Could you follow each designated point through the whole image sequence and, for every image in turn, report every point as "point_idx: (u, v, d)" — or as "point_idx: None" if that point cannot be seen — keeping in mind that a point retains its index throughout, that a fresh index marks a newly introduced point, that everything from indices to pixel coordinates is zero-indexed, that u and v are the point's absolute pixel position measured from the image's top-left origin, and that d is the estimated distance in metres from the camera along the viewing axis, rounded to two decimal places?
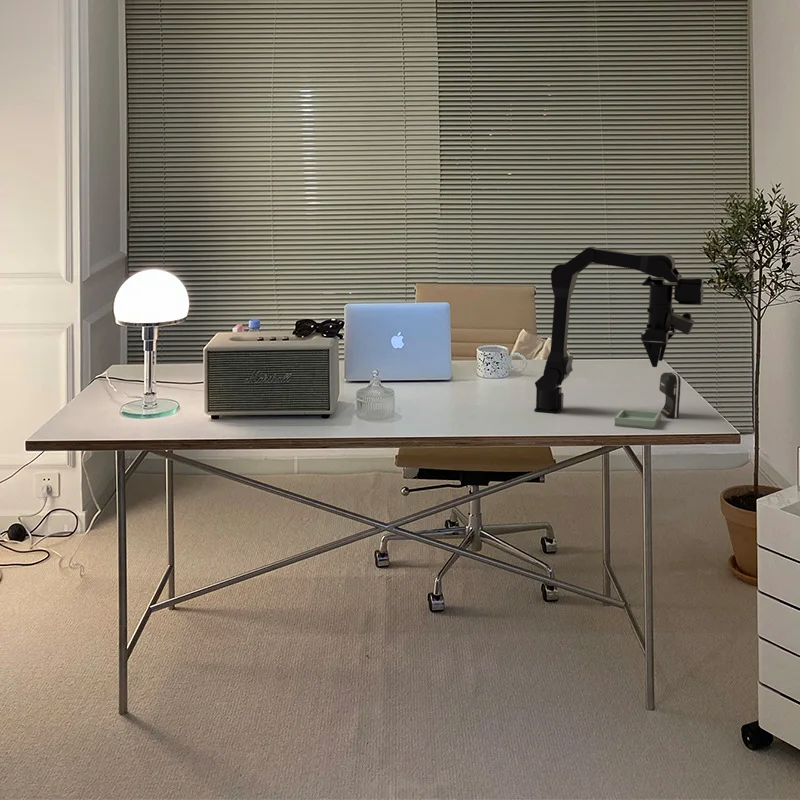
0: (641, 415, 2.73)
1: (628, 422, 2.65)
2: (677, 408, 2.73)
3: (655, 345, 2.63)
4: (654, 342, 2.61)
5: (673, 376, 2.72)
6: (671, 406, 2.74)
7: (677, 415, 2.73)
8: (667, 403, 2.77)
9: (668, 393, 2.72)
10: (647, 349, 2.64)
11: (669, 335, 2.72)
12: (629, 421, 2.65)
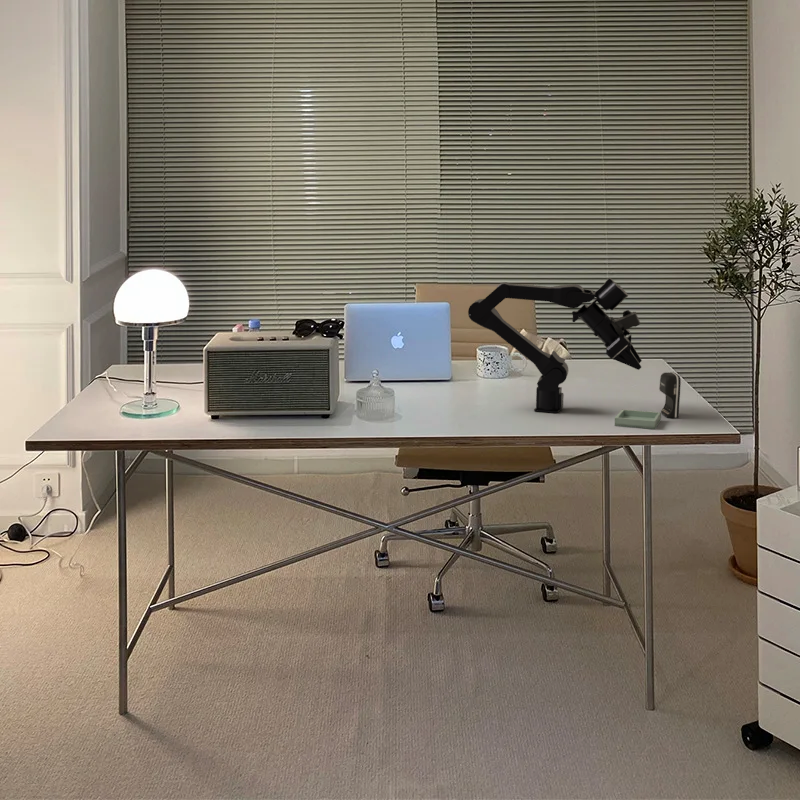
0: (641, 415, 2.73)
1: (628, 422, 2.65)
2: (677, 408, 2.73)
3: (625, 353, 2.70)
4: (621, 351, 2.68)
5: (673, 376, 2.72)
6: (671, 406, 2.74)
7: (677, 415, 2.73)
8: (667, 403, 2.77)
9: (668, 393, 2.72)
10: (622, 361, 2.70)
11: (628, 338, 2.80)
12: (629, 421, 2.65)
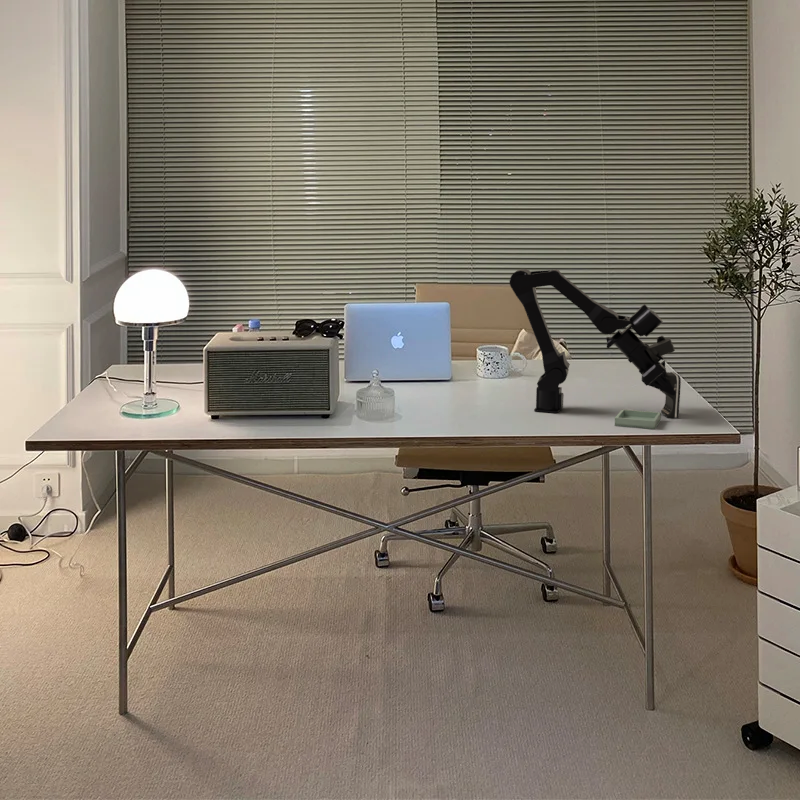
0: (641, 415, 2.73)
1: (628, 422, 2.65)
2: (677, 408, 2.73)
3: (660, 379, 2.70)
4: (657, 377, 2.68)
5: (673, 376, 2.72)
6: (671, 406, 2.74)
7: (677, 415, 2.73)
8: (667, 403, 2.77)
9: None
10: (657, 387, 2.70)
11: (662, 364, 2.78)
12: (629, 421, 2.65)
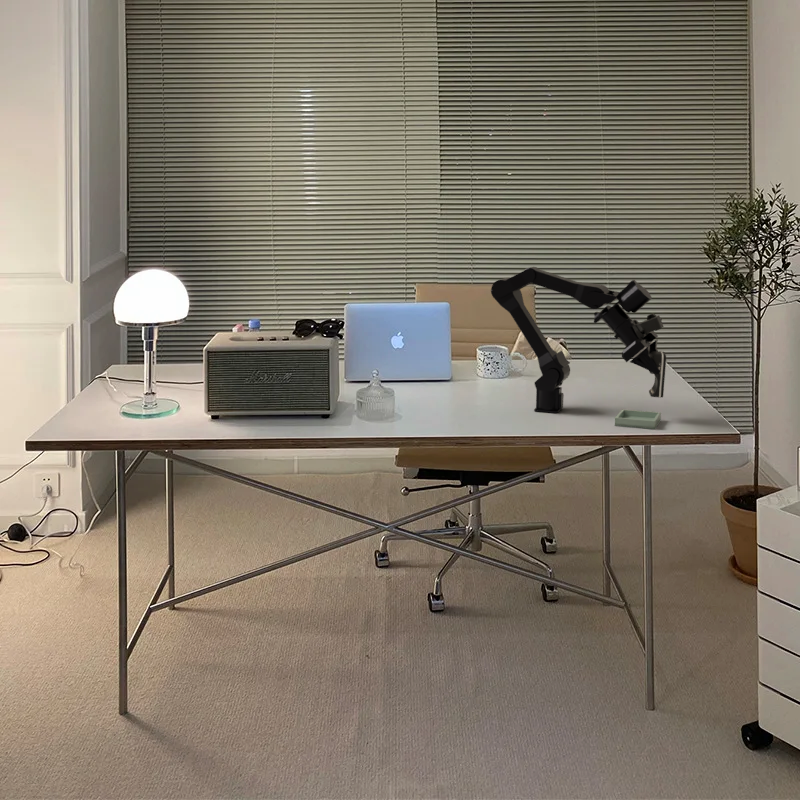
0: (641, 415, 2.73)
1: (628, 422, 2.65)
2: (661, 387, 2.67)
3: (643, 356, 2.65)
4: (638, 354, 2.63)
5: (659, 354, 2.66)
6: (656, 385, 2.68)
7: (661, 395, 2.67)
8: (655, 383, 2.71)
9: (652, 372, 2.66)
10: (640, 364, 2.65)
11: (653, 343, 2.73)
12: (629, 421, 2.65)
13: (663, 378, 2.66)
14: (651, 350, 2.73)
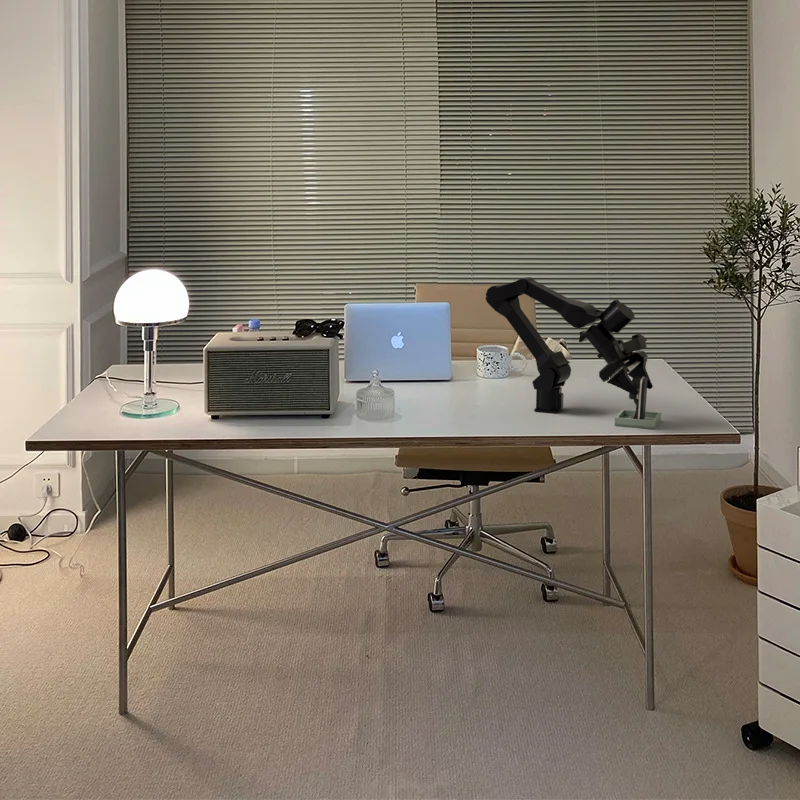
0: None
1: (628, 422, 2.65)
2: (640, 413, 2.65)
3: (621, 377, 2.63)
4: (614, 375, 2.61)
5: (638, 380, 2.64)
6: None
7: None
8: None
9: (631, 397, 2.64)
10: (618, 385, 2.63)
11: (641, 363, 2.71)
12: (629, 421, 2.65)
13: (641, 404, 2.64)
14: (639, 370, 2.71)
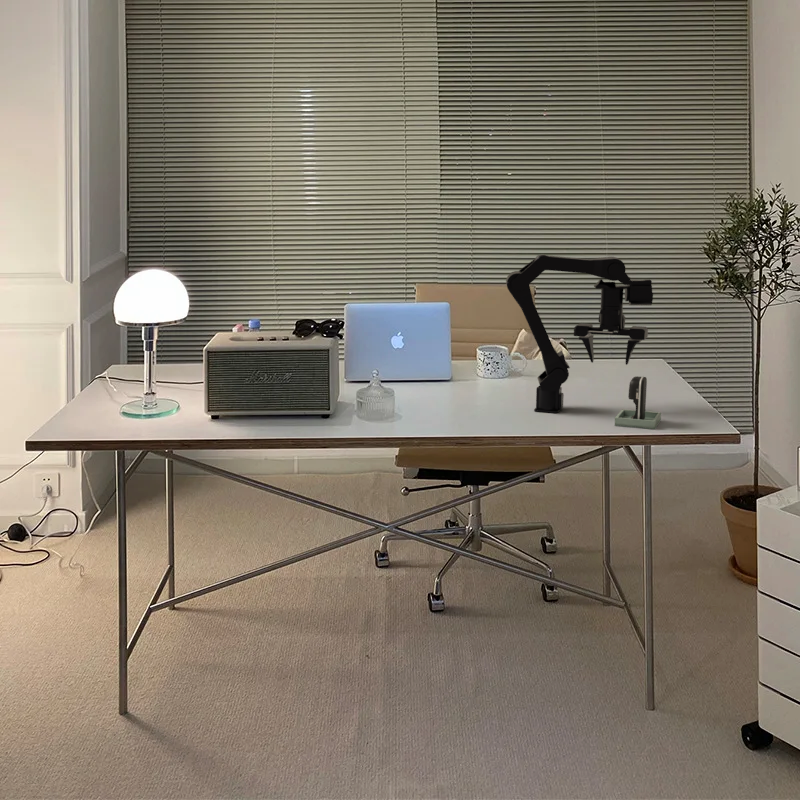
0: None
1: (628, 422, 2.65)
2: (639, 413, 2.65)
3: None
4: (640, 339, 2.75)
5: (637, 380, 2.64)
6: None
7: None
8: None
9: (630, 397, 2.65)
10: (632, 348, 2.75)
11: (592, 336, 2.82)
12: (629, 421, 2.65)
13: (641, 404, 2.64)
14: (592, 341, 2.81)
